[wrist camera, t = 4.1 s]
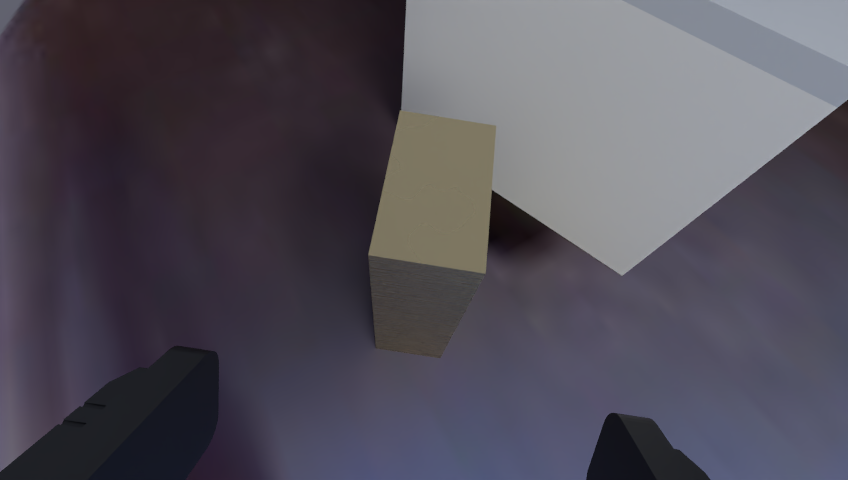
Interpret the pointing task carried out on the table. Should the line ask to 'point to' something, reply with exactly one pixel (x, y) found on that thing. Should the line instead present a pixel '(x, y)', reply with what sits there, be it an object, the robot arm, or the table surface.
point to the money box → (626, 101)
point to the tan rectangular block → (430, 231)
